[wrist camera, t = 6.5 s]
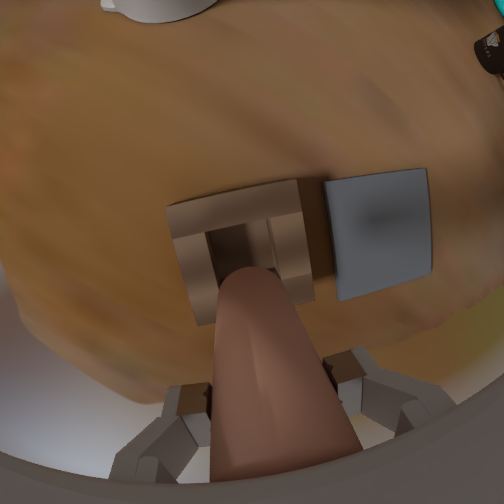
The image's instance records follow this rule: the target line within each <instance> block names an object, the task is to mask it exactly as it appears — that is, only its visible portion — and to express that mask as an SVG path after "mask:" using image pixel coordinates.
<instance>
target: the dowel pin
mask: <svg viewBox="0 0 504 504" xmlns="http://www.w3.org/2000/svg"><path fill="white" fill-rule="evenodd" d="M360 451H363V448H362V445H361V443H360V441H359V439H358V437H357V435H356V433H355V431H354V429H353V426H352V425H351V422H350V420H349V418H348V416H347V414H346V412H345V410H344V408H343V406H342V403H341V401H340V399H339V397H338V395H337V393H336V391H335V389H334V387H333V385H332V383H331V381H330V379H329V377H328V374H327V372H326V370H325V368H324V366H323V364H322V362H321V360H320V358H319V356H318V354H317V352H316V350H315V348H314V346H313V344H312V342H311V340H310V338H309V336H308V334H307V332H306V330H305V328H304V326H303V324H302V322H301V319H300V317H299V315H298V313H297V311H296V309H295V307H294V305H293V303H292V301H291V299H290V297H289V295H288V293H287V291H286V289H285V287H284V285H283V284H282V282H281V280H280V279H279V278H278V277H277V276H276V275H275V274H274V273H273V272H271V271H269V270H267V269H264V268H261V267H245V268H241V269H239V270H236V271H234V272H233V273H231V274H230V275H229V276H228V277H227V278H226V279H225V280H224V281H223V283H222V284H221V286H220V289H219V292H218V300H217V315H216V330H215V347H214V365H213V385H212V409H211V439H210V483H211V482H224V481H234V480H242V479H250V478H257V477H263V476H269V475H275V474H280V473H285V472H290V471H294V470H299V469H303V468H307V467H311V466H315V465H319V464H322V463H326V462H329V461H333V460H336V459H339V458H342V457H345V456H348V455H351V454H354V453H357V452H360Z"/></svg>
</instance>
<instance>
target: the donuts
mask: <svg viewBox="0 0 504 504" xmlns="http://www.w3.org/2000/svg"><path fill="white" fill-rule="evenodd" d="M494 1H495V4H496V6H497V8H498V10H499V11H500V13H501V15H502V16H503V17H504V0H494Z"/></svg>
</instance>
